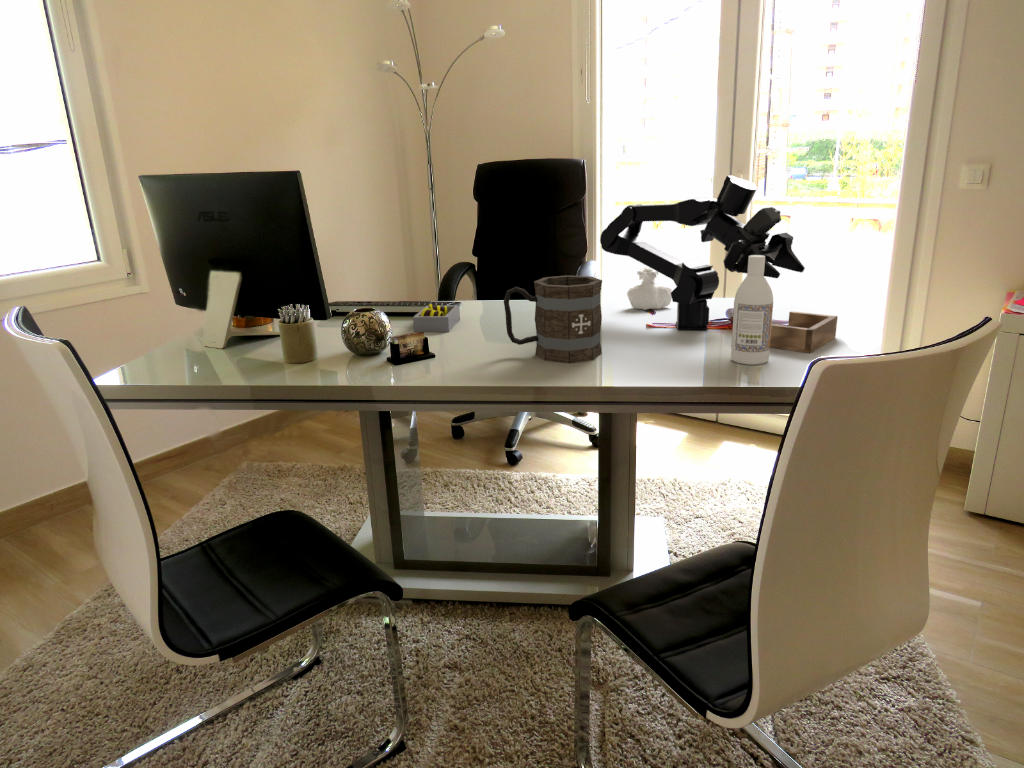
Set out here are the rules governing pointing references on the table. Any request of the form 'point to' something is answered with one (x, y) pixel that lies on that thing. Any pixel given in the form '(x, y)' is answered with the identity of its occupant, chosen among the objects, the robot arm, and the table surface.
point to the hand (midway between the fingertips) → (791, 273)
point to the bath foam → (752, 316)
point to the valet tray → (437, 321)
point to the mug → (563, 318)
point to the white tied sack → (649, 292)
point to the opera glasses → (434, 311)
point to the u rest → (804, 332)
